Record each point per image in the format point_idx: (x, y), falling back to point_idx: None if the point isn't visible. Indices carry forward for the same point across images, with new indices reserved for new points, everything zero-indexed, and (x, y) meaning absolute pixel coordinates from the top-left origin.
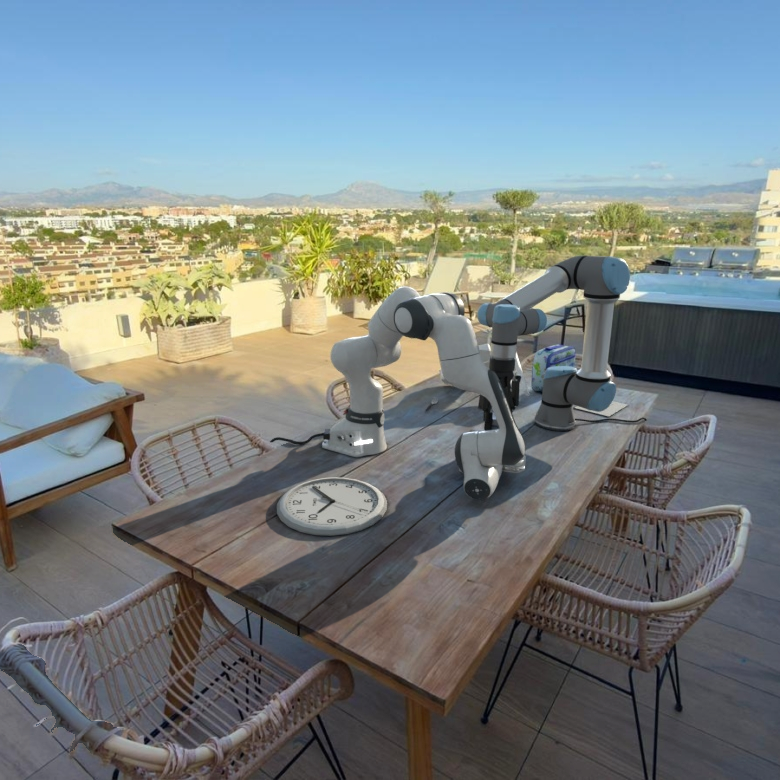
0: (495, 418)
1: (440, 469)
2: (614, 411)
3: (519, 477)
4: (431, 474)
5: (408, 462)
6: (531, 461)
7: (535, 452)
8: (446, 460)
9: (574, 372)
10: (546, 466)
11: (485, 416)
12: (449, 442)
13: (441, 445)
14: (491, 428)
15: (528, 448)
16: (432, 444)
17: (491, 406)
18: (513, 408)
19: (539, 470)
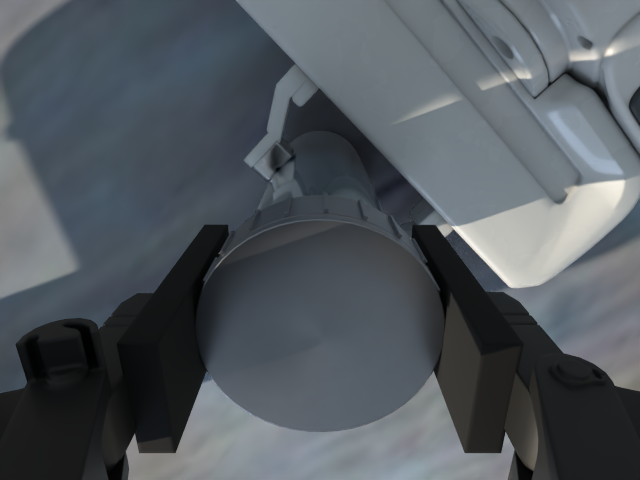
0: (394, 292)
1: None
2: None
3: (252, 24)
4: (629, 230)
5: (628, 361)
6: (83, 165)
7: (9, 244)
8: None
9: None
10: (30, 81)
11: (540, 342)
12: (347, 453)
13: (396, 441)
14: None
15: (24, 292)
16: (424, 459)
17: (566, 433)
18: (68, 334)
19: (95, 53)
